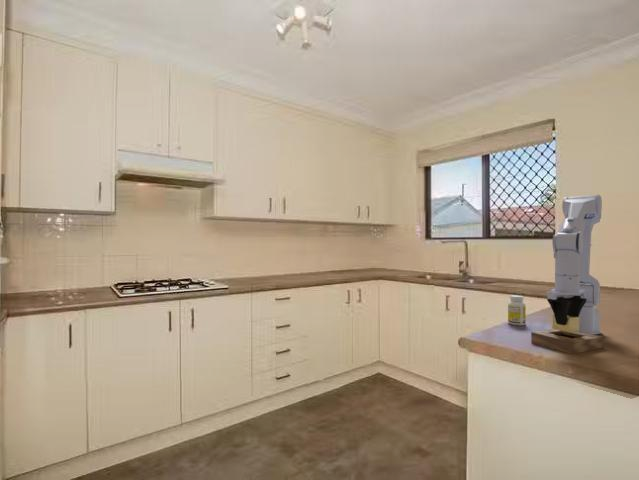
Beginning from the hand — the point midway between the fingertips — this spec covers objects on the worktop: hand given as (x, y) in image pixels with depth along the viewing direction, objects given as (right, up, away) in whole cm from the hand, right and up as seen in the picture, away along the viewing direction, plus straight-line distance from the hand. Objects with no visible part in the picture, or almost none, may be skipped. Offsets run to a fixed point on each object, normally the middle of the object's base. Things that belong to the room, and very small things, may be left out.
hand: (566, 323), depth 100 cm
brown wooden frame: (0, -6, 0) cm, 6 cm away
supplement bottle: (0, -6, +26) cm, 26 cm away
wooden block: (0, -2, 0) cm, 2 cm away
